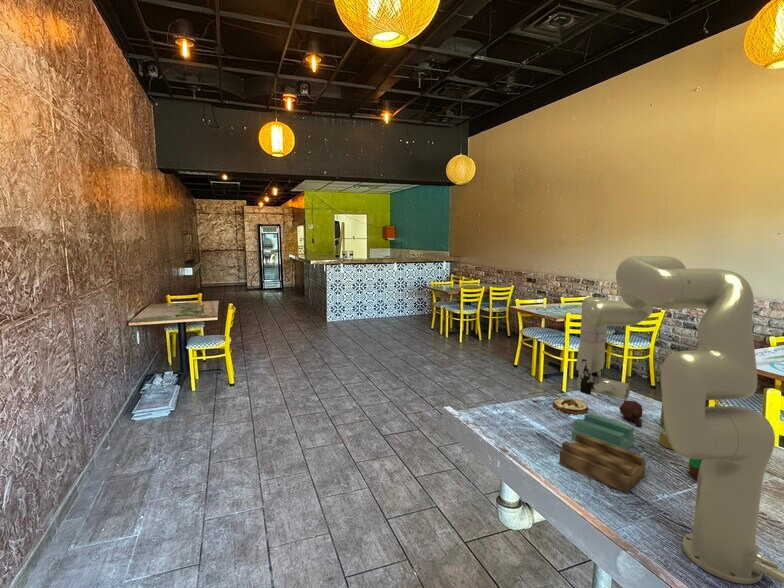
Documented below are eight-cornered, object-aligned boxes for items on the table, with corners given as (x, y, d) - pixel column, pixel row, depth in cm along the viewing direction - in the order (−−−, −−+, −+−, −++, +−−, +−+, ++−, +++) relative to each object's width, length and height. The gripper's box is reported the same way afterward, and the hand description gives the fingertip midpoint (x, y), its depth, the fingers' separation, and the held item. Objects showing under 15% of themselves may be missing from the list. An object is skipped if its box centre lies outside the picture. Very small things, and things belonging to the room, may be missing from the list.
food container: (685, 461, 119) (688, 428, 117) (712, 469, 115) (716, 435, 114) (682, 480, 109) (685, 445, 108) (711, 489, 105) (714, 452, 104)
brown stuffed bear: (612, 393, 155) (625, 412, 141) (633, 390, 153) (648, 409, 139) (615, 410, 156) (628, 430, 142) (637, 407, 154) (652, 428, 140)
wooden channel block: (644, 476, 111) (646, 455, 111) (626, 493, 104) (628, 470, 103) (579, 450, 125) (580, 431, 124) (559, 463, 118) (560, 444, 117)
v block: (633, 444, 129) (635, 426, 128) (617, 456, 121) (618, 437, 121) (589, 428, 140) (590, 412, 139) (571, 439, 132) (572, 421, 131)
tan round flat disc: (588, 404, 162) (589, 394, 161) (593, 419, 148) (594, 408, 147) (549, 399, 167) (549, 389, 166) (550, 413, 153) (550, 403, 152)
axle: (629, 398, 126) (630, 382, 125) (622, 401, 122) (623, 384, 122) (583, 387, 136) (584, 372, 136) (576, 389, 133) (577, 374, 133)
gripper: (593, 330, 138) (590, 382, 141) (568, 338, 128) (565, 394, 130) (617, 334, 133) (613, 388, 135) (592, 342, 122) (589, 401, 124)
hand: (589, 390), depth 132 cm, fingers closed on axle, 5 cm apart
